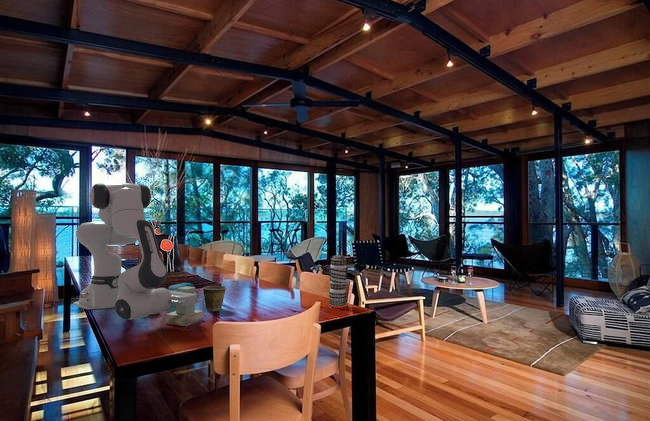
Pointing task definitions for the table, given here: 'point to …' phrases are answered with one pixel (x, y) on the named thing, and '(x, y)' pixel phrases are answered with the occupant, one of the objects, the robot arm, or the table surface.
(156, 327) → the table surface
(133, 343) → the table surface
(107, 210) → the robot arm
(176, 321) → the birch block
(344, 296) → the decorative candle
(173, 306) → the blue rounded box
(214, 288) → the ceramic cup
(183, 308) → the sage block
